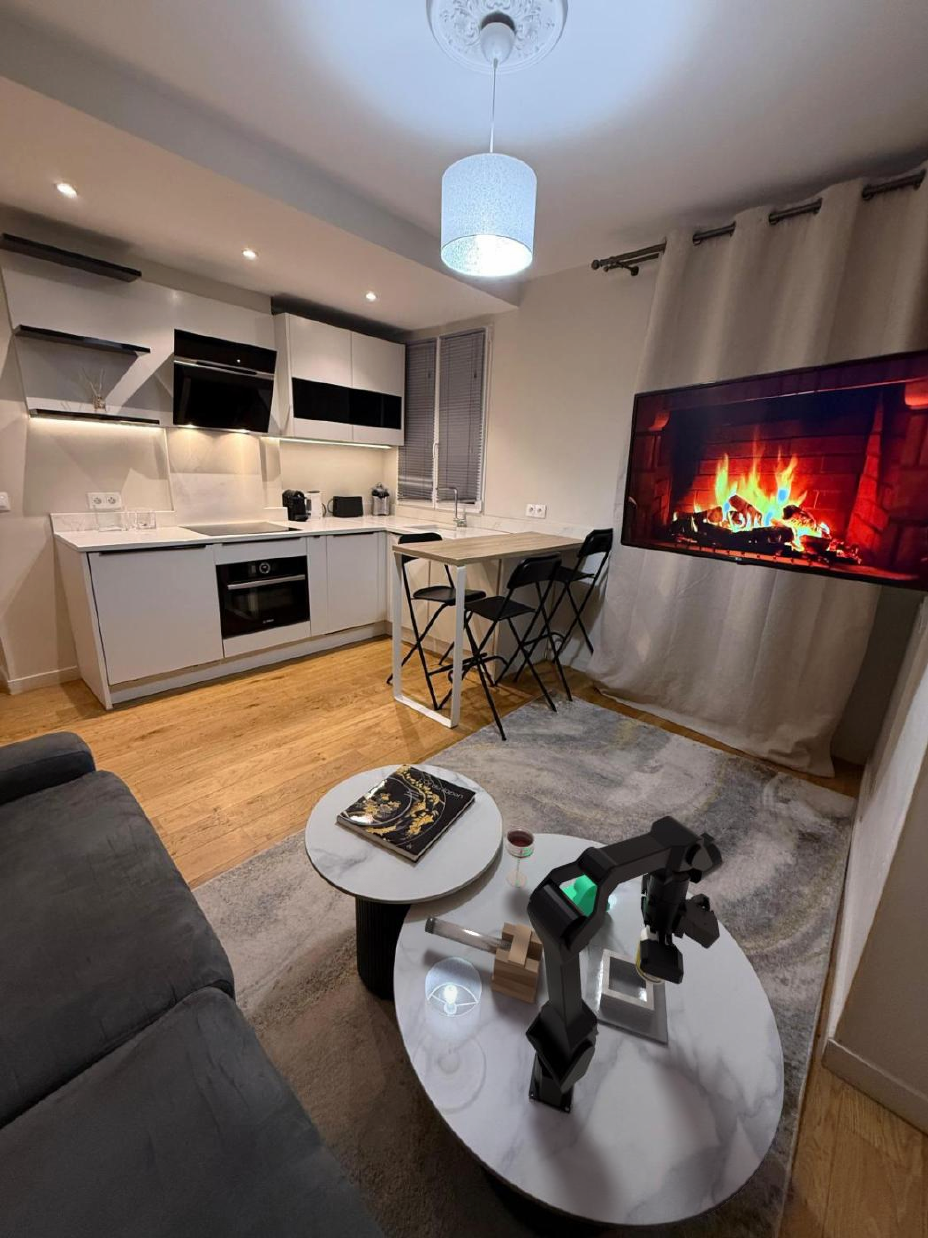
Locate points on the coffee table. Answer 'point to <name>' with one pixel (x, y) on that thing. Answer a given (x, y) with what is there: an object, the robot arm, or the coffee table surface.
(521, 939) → the mount
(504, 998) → the coffee table surface
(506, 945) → the pin
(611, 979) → the socket
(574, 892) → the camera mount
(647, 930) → the supplement bottle
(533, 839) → the wineglass
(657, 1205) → the coffee table surface
